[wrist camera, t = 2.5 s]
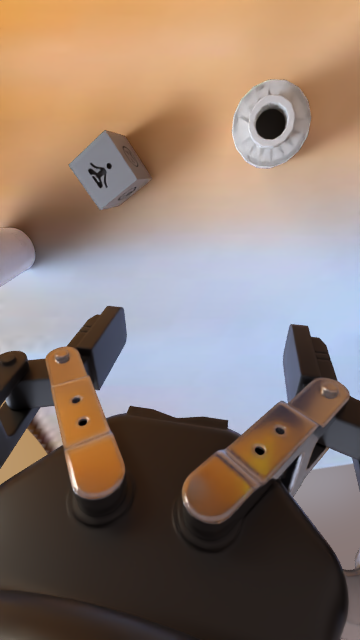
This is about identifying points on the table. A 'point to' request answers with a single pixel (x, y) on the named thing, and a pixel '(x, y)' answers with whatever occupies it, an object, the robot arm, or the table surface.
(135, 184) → the dice cube
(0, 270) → the dixie cup
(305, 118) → the white vase
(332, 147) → the table surface
